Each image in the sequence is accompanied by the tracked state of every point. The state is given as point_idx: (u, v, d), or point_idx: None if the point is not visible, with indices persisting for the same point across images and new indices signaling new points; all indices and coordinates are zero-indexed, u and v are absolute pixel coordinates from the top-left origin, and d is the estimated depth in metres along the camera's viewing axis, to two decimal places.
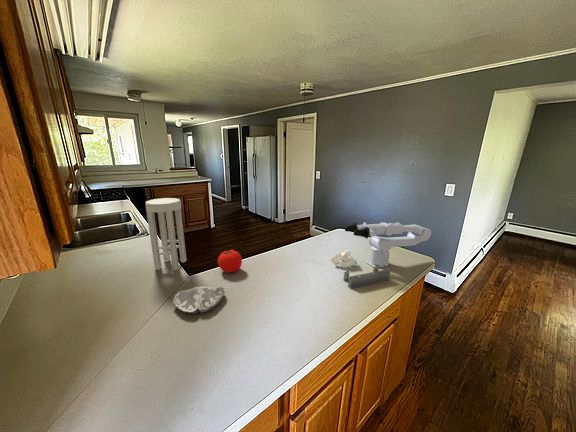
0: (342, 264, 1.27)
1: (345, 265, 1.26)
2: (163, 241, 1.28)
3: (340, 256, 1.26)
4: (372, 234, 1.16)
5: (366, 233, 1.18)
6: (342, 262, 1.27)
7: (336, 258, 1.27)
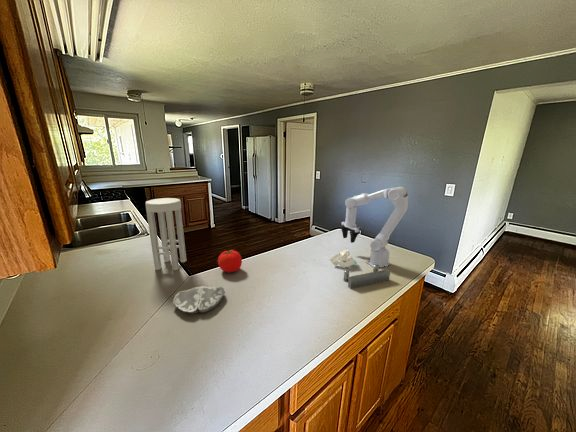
0: (341, 264, 1.27)
1: (345, 265, 1.26)
2: (163, 241, 1.28)
3: (339, 256, 1.26)
4: None
5: None
6: (341, 262, 1.27)
7: (335, 258, 1.27)
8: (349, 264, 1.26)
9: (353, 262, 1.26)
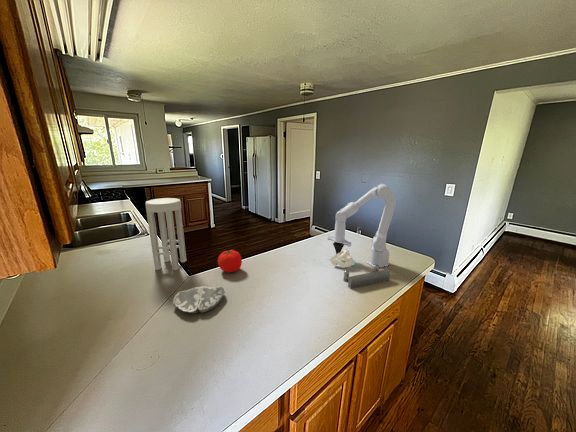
0: (340, 264, 1.27)
1: (344, 265, 1.26)
2: (163, 241, 1.28)
3: (339, 256, 1.25)
4: None
5: None
6: (341, 262, 1.26)
7: (335, 258, 1.27)
8: (348, 264, 1.25)
9: (353, 262, 1.25)
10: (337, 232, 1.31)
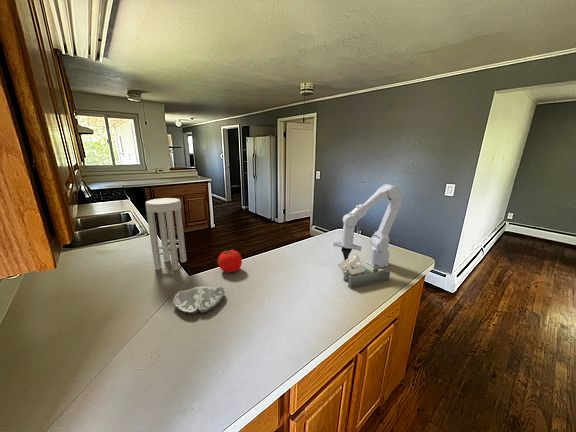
0: (349, 270, 1.20)
1: (354, 271, 1.19)
2: (163, 241, 1.28)
3: (348, 262, 1.19)
4: None
5: None
6: (350, 268, 1.20)
7: (344, 264, 1.21)
8: (358, 271, 1.18)
9: (362, 269, 1.18)
10: (347, 237, 1.23)
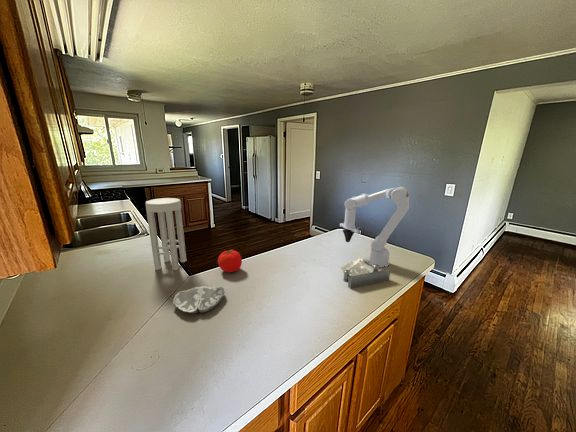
0: (353, 274, 1.17)
1: None
2: (163, 241, 1.28)
3: (351, 265, 1.16)
4: None
5: None
6: (353, 272, 1.16)
7: (347, 267, 1.18)
8: None
9: None
10: (346, 218, 1.33)
